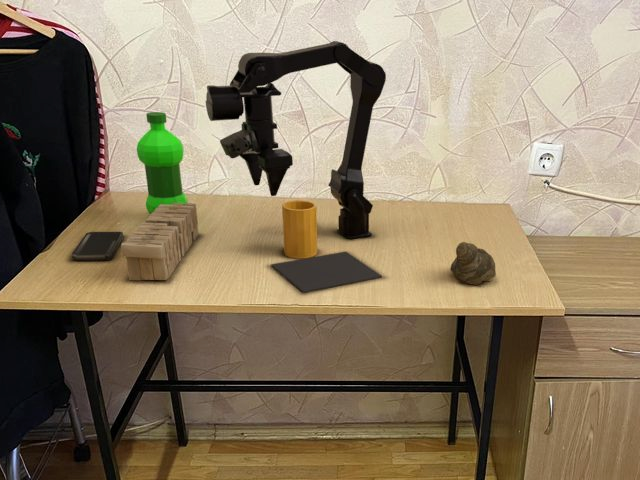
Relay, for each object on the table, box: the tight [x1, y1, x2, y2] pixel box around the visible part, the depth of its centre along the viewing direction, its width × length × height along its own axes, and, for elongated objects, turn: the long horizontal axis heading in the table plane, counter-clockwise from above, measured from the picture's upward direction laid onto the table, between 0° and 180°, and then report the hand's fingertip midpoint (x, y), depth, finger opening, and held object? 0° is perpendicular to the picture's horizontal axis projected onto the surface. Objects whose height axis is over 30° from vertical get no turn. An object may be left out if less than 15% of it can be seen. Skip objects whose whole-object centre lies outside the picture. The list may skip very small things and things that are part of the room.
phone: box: [71, 231, 125, 262], centre depth 156 cm, size 8×1×15 cm
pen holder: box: [281, 199, 318, 259], centre depth 159 cm, size 7×7×11 cm
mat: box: [271, 251, 383, 294], centre depth 152 cm, size 18×16×1 cm
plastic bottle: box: [136, 111, 189, 215], centre depth 171 cm, size 10×10×25 cm
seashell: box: [450, 241, 497, 286], centre depth 152 cm, size 11×12×10 cm
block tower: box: [120, 202, 199, 281], centre depth 153 cm, size 8×8×29 cm
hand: (265, 190), depth 159 cm, fingers open, 9 cm apart
